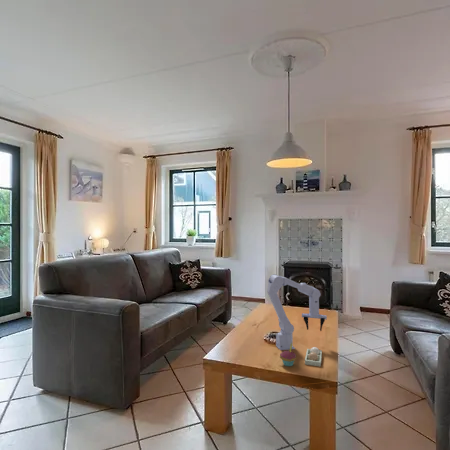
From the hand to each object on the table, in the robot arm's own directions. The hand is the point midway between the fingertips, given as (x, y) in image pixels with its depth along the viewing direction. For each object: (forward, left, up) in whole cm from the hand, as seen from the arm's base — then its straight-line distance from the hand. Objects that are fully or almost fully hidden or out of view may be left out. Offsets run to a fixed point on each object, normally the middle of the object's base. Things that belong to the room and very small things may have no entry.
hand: (314, 329), depth 189 cm
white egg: (-8, -15, -9) cm, 19 cm away
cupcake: (-26, -21, -10) cm, 35 cm away
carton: (-10, -18, -9) cm, 23 cm away
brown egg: (-12, -22, -9) cm, 26 cm away
